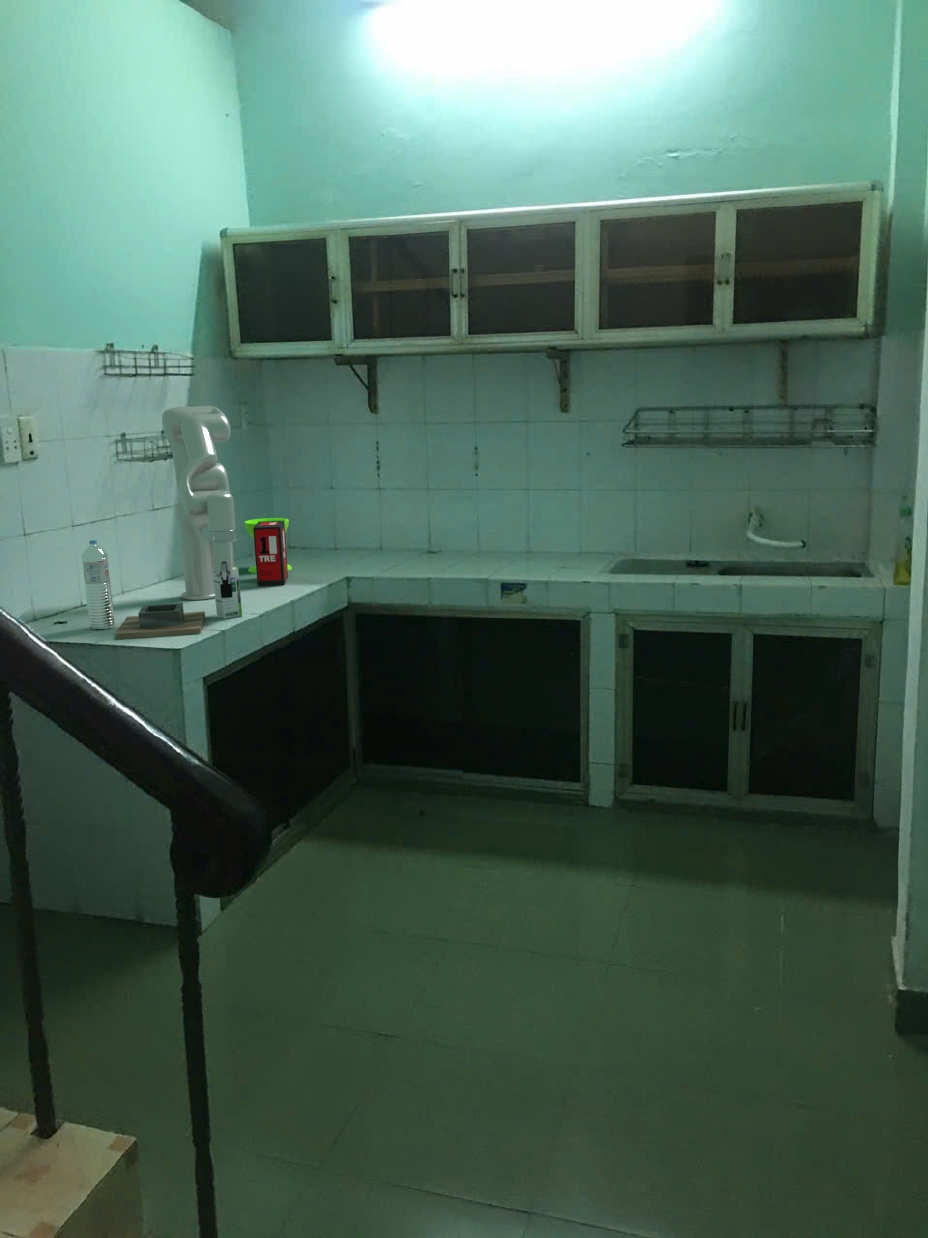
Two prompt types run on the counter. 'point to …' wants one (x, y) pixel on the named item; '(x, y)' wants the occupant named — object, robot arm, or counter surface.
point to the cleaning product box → (270, 553)
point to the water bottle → (98, 587)
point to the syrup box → (228, 605)
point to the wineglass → (249, 527)
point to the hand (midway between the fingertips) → (227, 594)
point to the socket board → (161, 622)
